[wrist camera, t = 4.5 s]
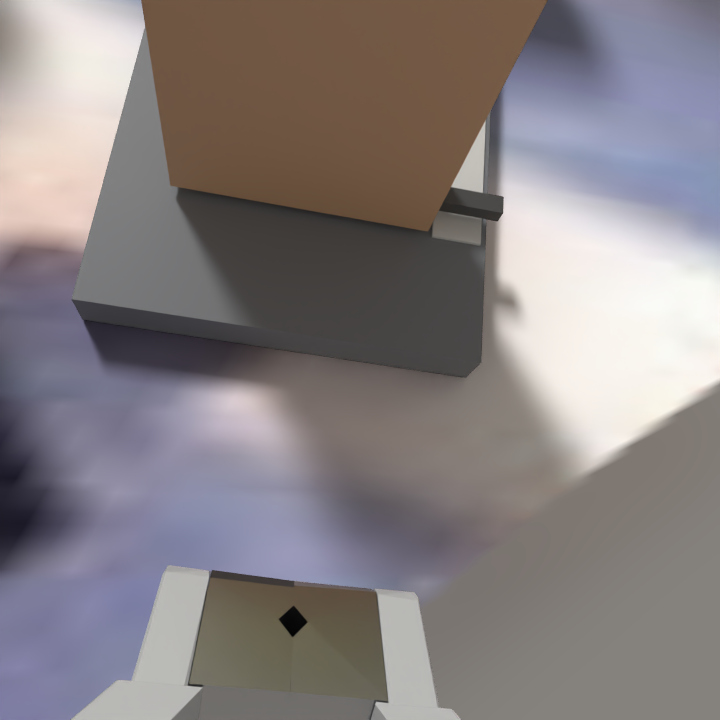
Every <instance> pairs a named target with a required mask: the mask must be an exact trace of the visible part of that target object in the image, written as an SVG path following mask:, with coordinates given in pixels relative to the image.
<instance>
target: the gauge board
mask: <svg viewBox="0 0 720 720" xmlns="http://www.w3.org/2000/svg"><path fill="white" fill-rule="evenodd" d="M489 138H490V113H489V115H488V116H487V118H486V120H485V122H484V124H483V126H482V128H481V130H480V132H479V134H478V136H477V138H476V140H475V142H474V144H473V145H472V147H471V149H470V151H469V153H468V155H467V157H466V159H465V161H464V163H463V165H462V167H461V169H460V171H459V173H458V174H457V176H456V178H455V180H454V182H453V184H452V186H451V187H454V188H459V189H464V190H470V191H475V192H480V193H486V194H487V191H488V164H489ZM485 245H486V219H482V218H476V217H471V216H465V215H460V214H454V213H449V212H444V211H438V213H437V215H436V217H435V219H434V221H433V223H432V225H431V227H430V229H429V230H428V231H422V230H416V229H411V228H405V227H399V226H394V225H388V224H383V223H377V222H371V221H366V220H360V219H354V218H349V217H343V216H338V215H332V214H326V213H321V212H315V211H309V210H304V209H298V208H293V207H287V206H281V205H276V204H270V203H264V202H259V201H253V200H248V199H242V198H236V197H231V196H225V195H220V194H214V193H208V192H203V191H197V190H191V189H186V188H180V187H175V186H170V180H169V174H168V167H167V161H166V154H165V148H164V142H163V135H162V129H161V122H160V116H159V110H158V103H157V97H156V91H155V84H154V78H153V71H152V65H151V59H150V52H149V46H148V39H147V33H146V27H145V29H144V33H143V37H142V40H141V44H140V48H139V51H138V55H137V59H136V63H135V66H134V70H133V74H132V77H131V81H130V85H129V88H128V92H127V96H126V100H125V103H124V107H123V111H122V114H121V118H120V122H119V125H118V129H117V133H116V136H115V140H114V144H113V148H112V151H111V155H110V159H109V162H108V166H107V170H106V173H105V177H104V181H103V184H102V188H101V192H100V196H99V199H98V203H97V207H96V210H95V214H94V218H93V221H92V225H91V229H90V233H89V236H88V240H87V244H86V247H85V251H84V255H83V258H82V262H81V266H80V269H79V273H78V277H77V281H76V284H75V288H74V292H73V295H72V301H73V303H74V305H75V306H76V308H77V310H78V312H79V314H80V316H81V318H82V319H83V320H88V321H95V322H102V323H108V324H115V325H122V326H128V327H135V328H141V329H148V330H155V331H161V332H168V333H174V334H181V335H188V336H194V337H201V338H207V339H214V340H221V341H227V342H234V343H240V344H247V345H254V346H260V347H267V348H274V349H280V350H287V351H293V352H300V353H307V354H313V355H320V356H326V357H333V358H340V359H346V360H353V361H359V362H366V363H373V364H379V365H386V366H393V367H399V368H406V369H412V370H419V371H426V372H432V373H439V374H445V375H452V376H459V377H465V378H466V377H467V376H468V375H469V374H470V373H471V372H472V371H473V370H474V369H475V368H476V367H477V366H478V365H479V364H480V363H481V351H482V325H483V298H484V271H485Z"/></svg>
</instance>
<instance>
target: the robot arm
mask: <svg viewBox="0 0 720 720" xmlns="http://www.w3.org/2000/svg"><path fill="white" fill-rule="evenodd" d="M210 575H211V576H210ZM71 720H461V719H460V717H459V716H458V715H457V714H456V713H455V712H454V711H453V709H445V708H440V707H439V703H438V697H437V692H436V687H435V682H434V676H433V671H432V666H431V661H430V656H429V650H428V645H427V640H426V635H425V630H424V624H423V619H422V614H421V609H420V604H419V598H418V597H417V596H416V594H415V593H414V592H406V591H396V590H385V589H374V590H372V589H368V588H358V587H348V586H338V585H328V584H319V583H309V582H299V581H289V580H281V579H274V578H266V577H259V576H252V575H244V574H237V573H229V572H222V571H214V570H212V572H211V571H207V570H200V569H192V568H185V567H178V566H171V565H168V566H167V568H166V570H165V571H164V573H163V575H162V579H161V582H160V585H159V589H158V592H157V596H156V599H155V602H154V606H153V609H152V613H151V616H150V620H149V623H148V626H147V630H146V633H145V637H144V640H143V643H142V647H141V650H140V654H139V657H138V660H137V664H136V667H135V671H134V674H133V678H132V681H127V680H117V681H115V682H114V683H113V684H112V685H111V686H109V687H108V688H107V689H106V690H105V691H104V692H102V693H101V694H100V695H99V696H98V697H97V698H95V699H94V700H93V701H92V702H91V703H90V704H88V705H87V706H86V707H85V708H84V709H82V710H81V711H80V712H79V713H78V714H77V715H75V716H74V717H73V718H72V719H71Z"/></svg>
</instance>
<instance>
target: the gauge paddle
mask: <svg viewBox="0 0 720 720" xmlns="http://www.w3.org/2000/svg"><path fill="white" fill-rule="evenodd" d="M141 1H142V8H143V14H144V20H145V27H146V33H147V39H148V46H149V52H150V59H151V65H152V71H153V78H154V84H155V91H156V97H157V103H158V110H159V116H160V122H161V129H162V135H163V142H164V148H165V154H166V161H167V167H168V174H169V180H170V186H175V187H180V188H186V189H191V190H197V191H203V192H208V193H214V194H220V195H225V196H231V197H236V198H242V199H248V200H253V201H259V202H264V203H270V204H276V205H281V206H287V207H293V208H298V209H304V210H309V211H315V212H321V213H326V214H332V215H338V216H343V217H349V218H354V219H360V220H366V221H371V222H377V223H383V224H388V225H394V226H399V227H405V228H411V229H416V230H422V231H428V230H429V229H430V227H431V225H432V223H433V221H434V219H435V217H436V215H437V213H438V211H444V212H449V213H454V214H460V215H465V216H471V217H476V218H482V219H487V220H493V221H498V220H499V218H500V217H501V215H502V214H503V197H502V196H496V195H491V194H486V193H480V192H475V191H470V190H464V189H459V188H454V187H451V186H452V184H453V182H454V180H455V178H456V176H457V174H458V173H459V171H460V169H461V167H462V165H463V163H464V161H465V159H466V157H467V155H468V153H469V151H470V149H471V147H472V145H473V144H474V142H475V140H476V138H477V136H478V134H479V132H480V130H481V128H482V126H483V124H484V122H485V120H486V118H487V116H488V115H489V113H490V111H491V109H492V107H493V105H494V103H495V101H496V99H497V97H498V95H499V93H500V91H501V89H502V88H503V86H504V84H505V82H506V80H507V78H508V76H509V74H510V72H511V70H512V68H513V66H514V64H515V62H516V60H517V59H518V57H519V55H520V53H521V51H522V49H523V47H524V45H525V43H526V41H527V39H528V37H529V35H530V33H531V31H532V30H533V28H534V26H535V24H536V22H537V20H538V18H539V16H540V14H541V12H542V10H543V8H544V6H545V4H546V3H547V1H548V0H141Z"/></svg>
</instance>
